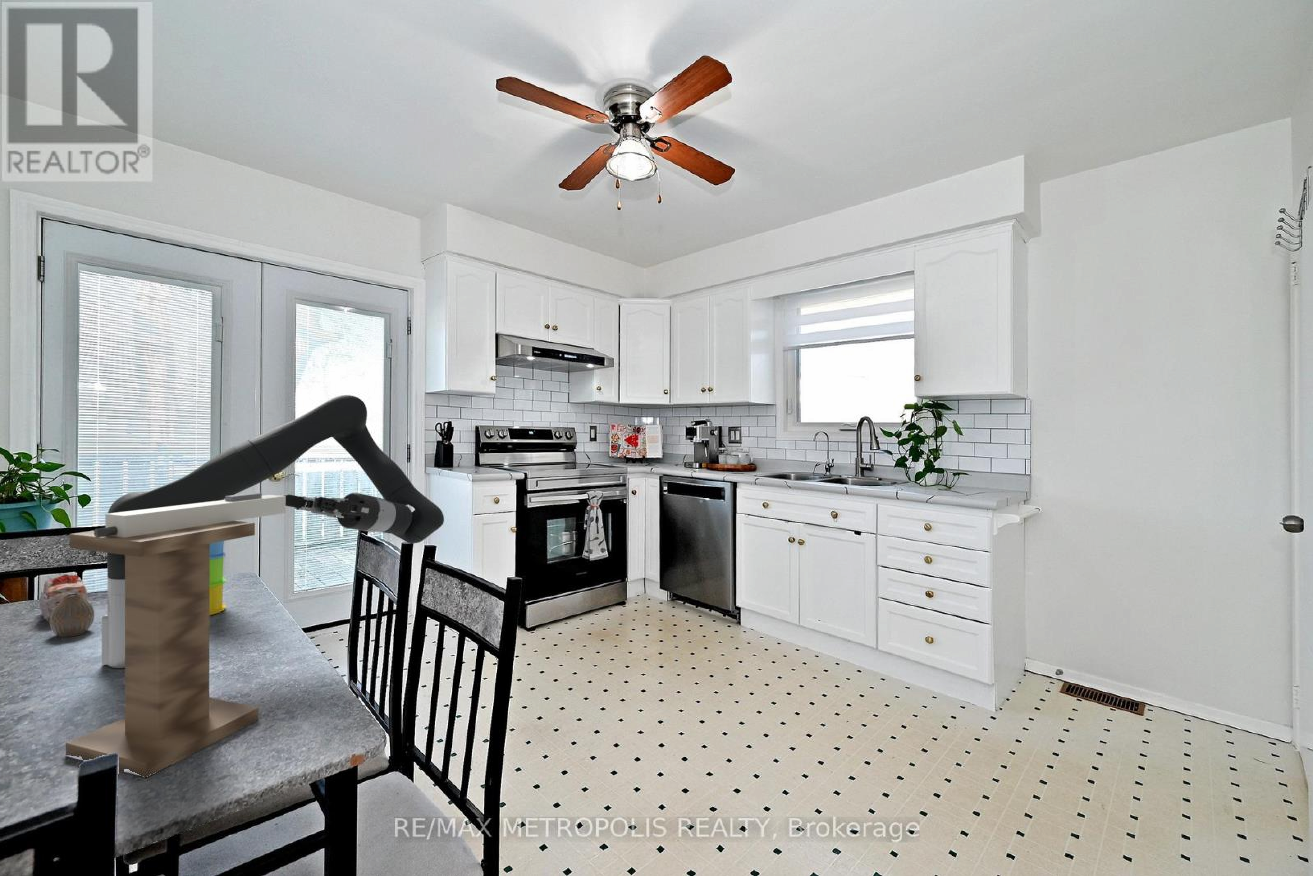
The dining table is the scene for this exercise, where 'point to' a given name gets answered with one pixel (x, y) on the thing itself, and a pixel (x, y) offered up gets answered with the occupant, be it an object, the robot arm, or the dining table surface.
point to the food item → (59, 592)
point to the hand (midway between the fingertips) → (299, 500)
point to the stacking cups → (216, 577)
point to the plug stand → (165, 650)
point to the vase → (72, 616)
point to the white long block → (191, 515)
